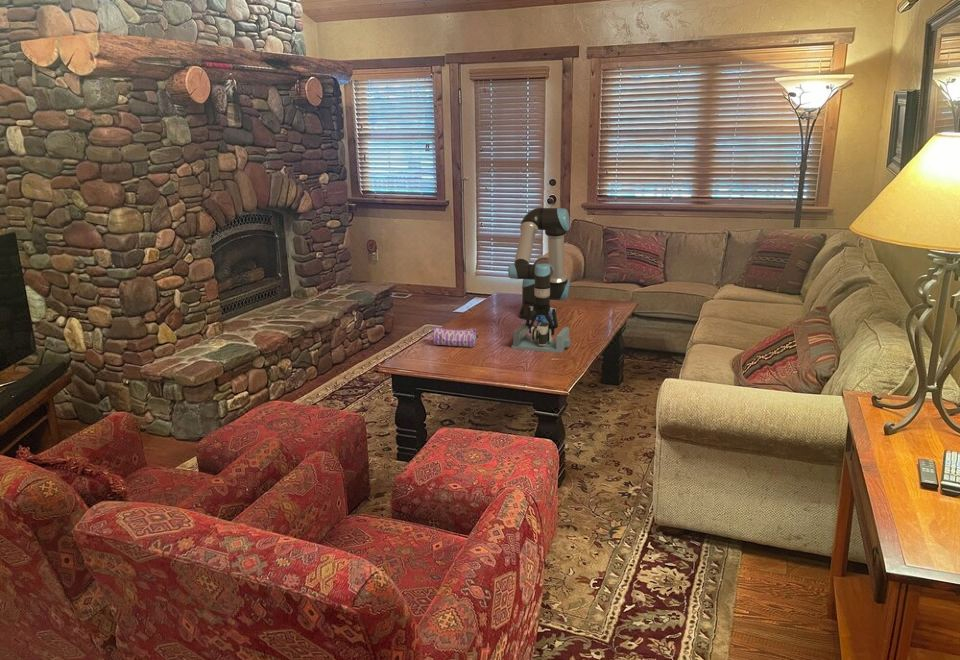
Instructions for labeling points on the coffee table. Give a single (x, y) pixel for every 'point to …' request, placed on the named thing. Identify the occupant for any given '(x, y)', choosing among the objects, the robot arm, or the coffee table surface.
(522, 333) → the sliding jaw
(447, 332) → the pencil case
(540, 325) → the camera
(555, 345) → the vise
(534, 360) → the coffee table surface
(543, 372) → the coffee table surface
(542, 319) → the blue knobbly thick disc
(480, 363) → the coffee table surface
